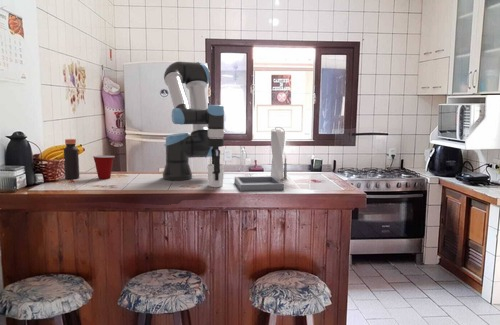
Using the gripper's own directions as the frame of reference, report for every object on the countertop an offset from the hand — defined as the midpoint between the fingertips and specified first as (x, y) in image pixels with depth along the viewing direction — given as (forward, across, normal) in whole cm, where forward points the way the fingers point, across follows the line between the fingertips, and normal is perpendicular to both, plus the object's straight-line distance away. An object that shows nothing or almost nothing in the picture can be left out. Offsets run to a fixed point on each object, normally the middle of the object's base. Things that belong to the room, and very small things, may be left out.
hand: (215, 185), depth 197 cm
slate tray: (0, -4, -20) cm, 20 cm away
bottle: (0, +26, +71) cm, 76 cm away
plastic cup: (0, +25, +55) cm, 60 cm away
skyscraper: (+1, +14, -34) cm, 37 cm away
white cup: (0, 0, 0) cm, 0 cm away
